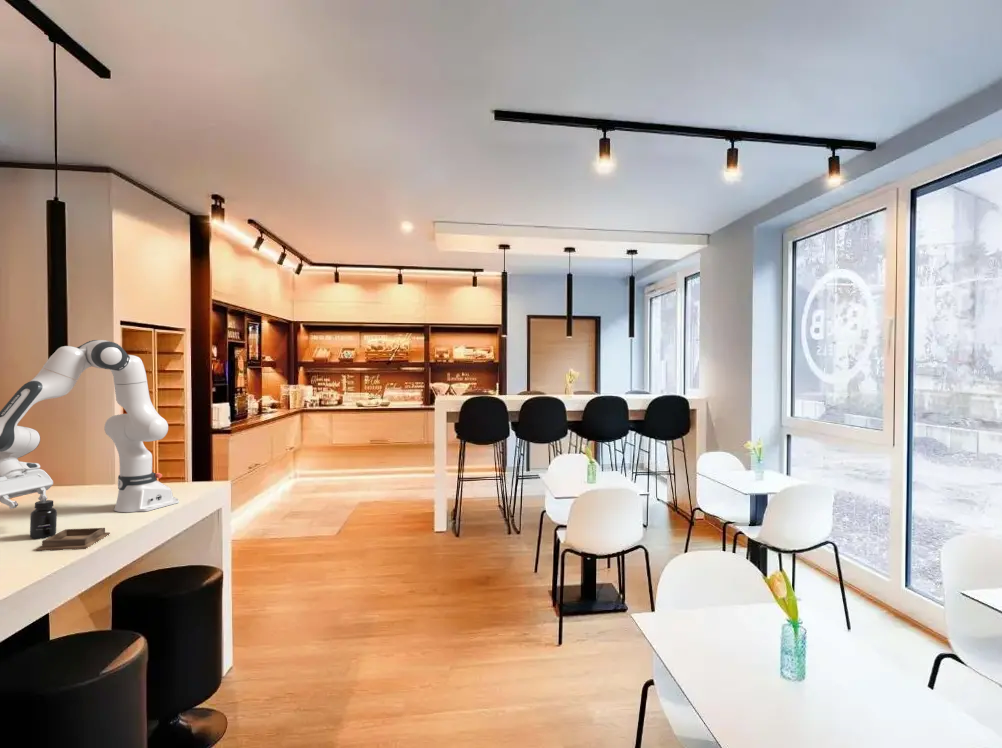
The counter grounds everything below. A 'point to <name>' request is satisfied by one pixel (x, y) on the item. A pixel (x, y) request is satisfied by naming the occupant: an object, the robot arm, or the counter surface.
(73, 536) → the walnut tray
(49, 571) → the counter surface
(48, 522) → the supplement bottle
